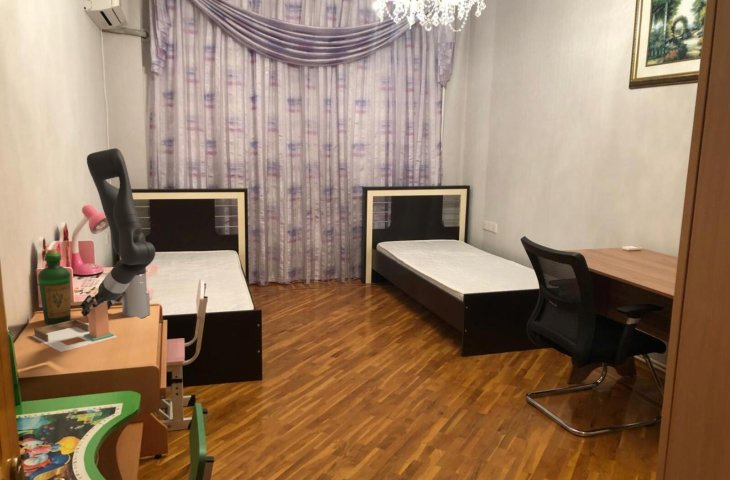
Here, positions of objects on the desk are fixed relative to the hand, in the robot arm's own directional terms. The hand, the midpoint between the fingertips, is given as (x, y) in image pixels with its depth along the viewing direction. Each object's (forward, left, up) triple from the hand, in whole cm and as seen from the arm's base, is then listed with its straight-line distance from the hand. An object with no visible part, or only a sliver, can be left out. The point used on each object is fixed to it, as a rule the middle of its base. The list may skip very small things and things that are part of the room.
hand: (94, 311), depth 196 cm
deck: (+5, -5, -10) cm, 12 cm away
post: (0, +1, -8) cm, 8 cm away
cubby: (+7, -10, -9) cm, 15 cm away
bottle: (+2, -26, -10) cm, 28 cm away
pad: (0, +1, -9) cm, 9 cm away
